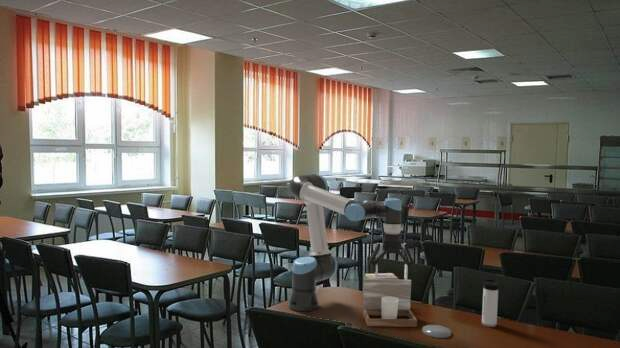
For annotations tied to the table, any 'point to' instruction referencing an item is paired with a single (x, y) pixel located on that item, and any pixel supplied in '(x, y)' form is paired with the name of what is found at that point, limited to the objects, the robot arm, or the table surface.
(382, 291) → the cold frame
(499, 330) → the table surface
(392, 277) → the tea box
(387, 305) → the white cup
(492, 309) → the travel mug
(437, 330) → the slate saucer
